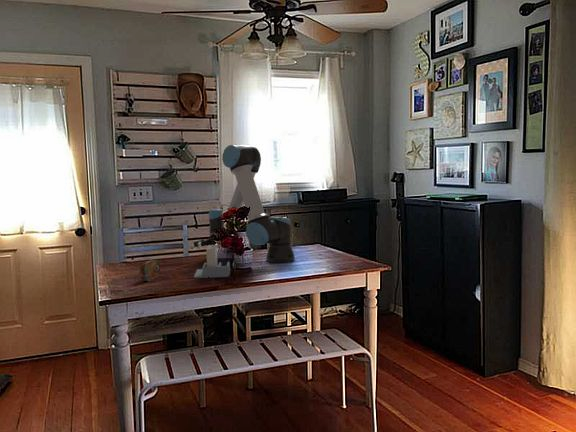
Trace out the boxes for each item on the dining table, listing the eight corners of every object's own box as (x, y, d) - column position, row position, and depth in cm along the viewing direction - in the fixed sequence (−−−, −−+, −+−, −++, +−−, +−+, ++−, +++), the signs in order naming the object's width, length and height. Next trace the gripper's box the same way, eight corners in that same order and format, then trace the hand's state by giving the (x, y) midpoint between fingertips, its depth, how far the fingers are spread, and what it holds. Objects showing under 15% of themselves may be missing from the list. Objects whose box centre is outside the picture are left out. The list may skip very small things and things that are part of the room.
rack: (230, 269, 243) (230, 259, 243) (229, 276, 227) (228, 266, 227) (197, 270, 242) (197, 261, 241) (193, 278, 226) (193, 267, 225)
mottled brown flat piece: (145, 283, 219) (144, 264, 218) (139, 283, 219) (138, 264, 219) (161, 275, 233) (160, 258, 233) (154, 275, 234) (153, 257, 233)
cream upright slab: (217, 269, 241) (216, 244, 239) (216, 274, 229) (215, 249, 227) (209, 269, 240) (208, 245, 239) (207, 274, 228) (206, 249, 227)
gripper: (239, 245, 265) (238, 251, 244) (192, 247, 264) (187, 254, 243) (238, 231, 265) (237, 236, 244) (191, 234, 263) (186, 239, 242)
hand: (212, 245), depth 243 cm, fingers open, 13 cm apart
